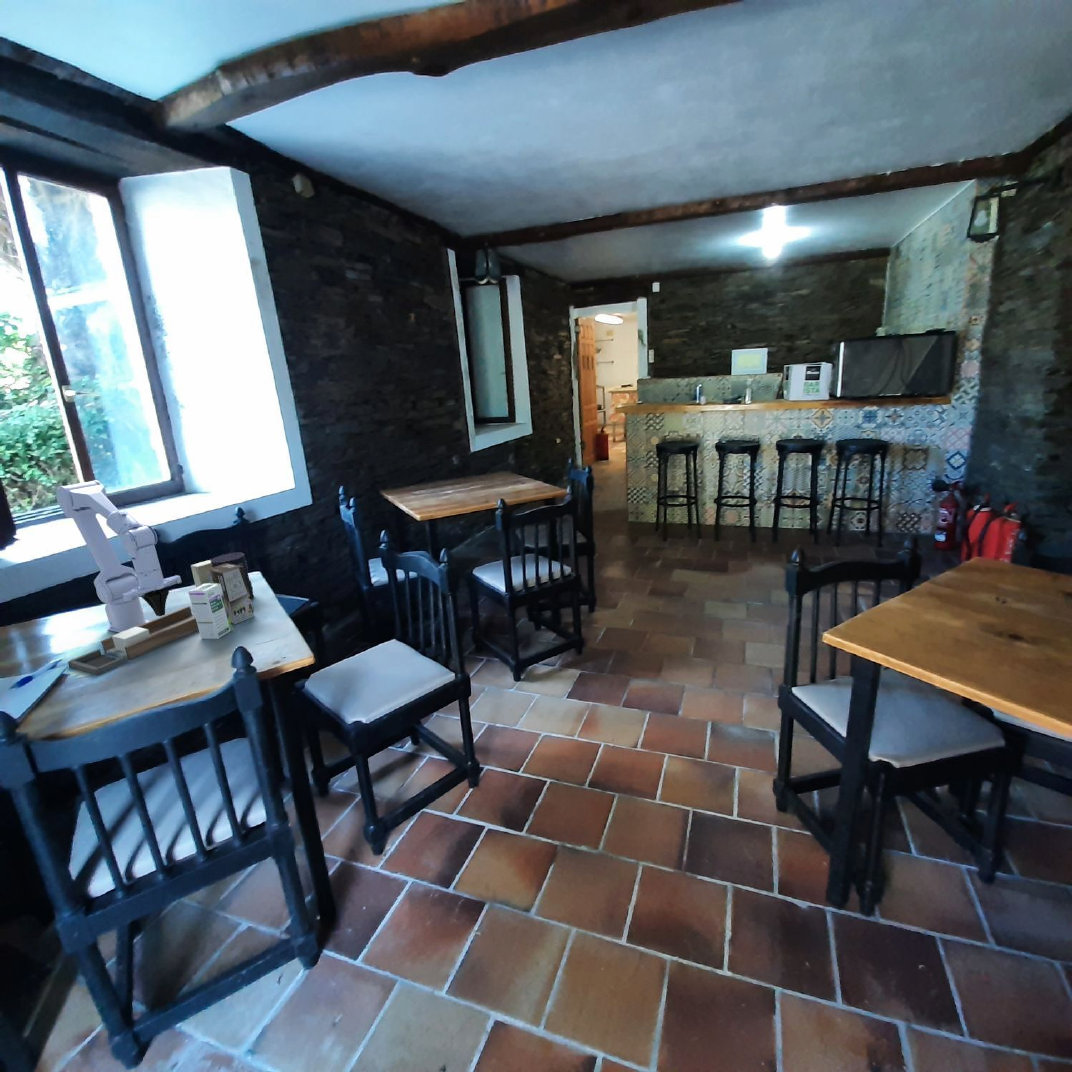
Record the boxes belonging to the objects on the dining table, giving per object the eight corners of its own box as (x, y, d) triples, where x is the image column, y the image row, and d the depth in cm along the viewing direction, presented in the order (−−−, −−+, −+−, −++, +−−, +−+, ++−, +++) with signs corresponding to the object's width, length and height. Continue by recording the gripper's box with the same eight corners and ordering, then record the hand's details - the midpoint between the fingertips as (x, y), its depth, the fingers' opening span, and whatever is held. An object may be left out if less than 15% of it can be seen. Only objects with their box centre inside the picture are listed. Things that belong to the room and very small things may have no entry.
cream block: (116, 649, 148) (111, 636, 147) (139, 639, 153) (135, 626, 152) (128, 652, 145) (124, 639, 144) (152, 642, 151) (148, 629, 149)
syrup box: (218, 639, 151) (205, 590, 147) (200, 638, 153) (187, 590, 149) (233, 630, 157) (221, 582, 153) (215, 629, 158) (203, 582, 154)
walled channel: (104, 652, 148) (100, 641, 147) (190, 616, 169) (187, 606, 168) (130, 659, 143) (126, 647, 142) (216, 621, 164) (213, 610, 163)
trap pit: (69, 666, 142) (67, 661, 141) (99, 654, 148) (97, 649, 147) (97, 675, 136) (95, 670, 136) (127, 661, 142) (125, 656, 142)
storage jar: (231, 608, 173) (220, 563, 169) (214, 603, 178) (203, 560, 174) (260, 597, 181) (251, 554, 177) (244, 592, 186) (234, 550, 182)
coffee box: (255, 616, 166) (244, 565, 161) (234, 624, 160) (222, 573, 156) (238, 611, 170) (227, 562, 166) (218, 619, 165) (205, 569, 161)
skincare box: (205, 602, 180) (196, 567, 177) (198, 600, 183) (189, 565, 179) (224, 595, 185) (216, 560, 182) (217, 593, 188) (209, 559, 184)
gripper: (128, 580, 143) (142, 627, 147) (182, 562, 156) (194, 606, 160) (113, 577, 146) (127, 624, 150) (167, 560, 159) (179, 603, 163)
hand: (160, 615), depth 155 cm, fingers closed
